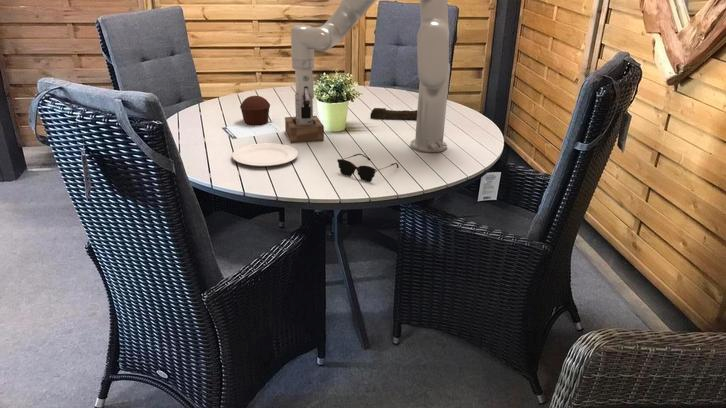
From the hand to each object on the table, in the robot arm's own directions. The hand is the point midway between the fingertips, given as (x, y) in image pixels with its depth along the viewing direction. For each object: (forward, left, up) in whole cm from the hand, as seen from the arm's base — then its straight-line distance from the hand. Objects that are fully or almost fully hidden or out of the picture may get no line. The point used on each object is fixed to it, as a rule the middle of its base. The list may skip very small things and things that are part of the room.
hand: (304, 115), depth 190 cm
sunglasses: (-36, -14, -9) cm, 40 cm away
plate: (-19, +16, -8) cm, 27 cm away
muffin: (+21, +15, -8) cm, 27 cm away
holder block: (0, 0, -8) cm, 8 cm away
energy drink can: (0, 0, -6) cm, 6 cm away
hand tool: (+15, -39, -8) cm, 43 cm away
